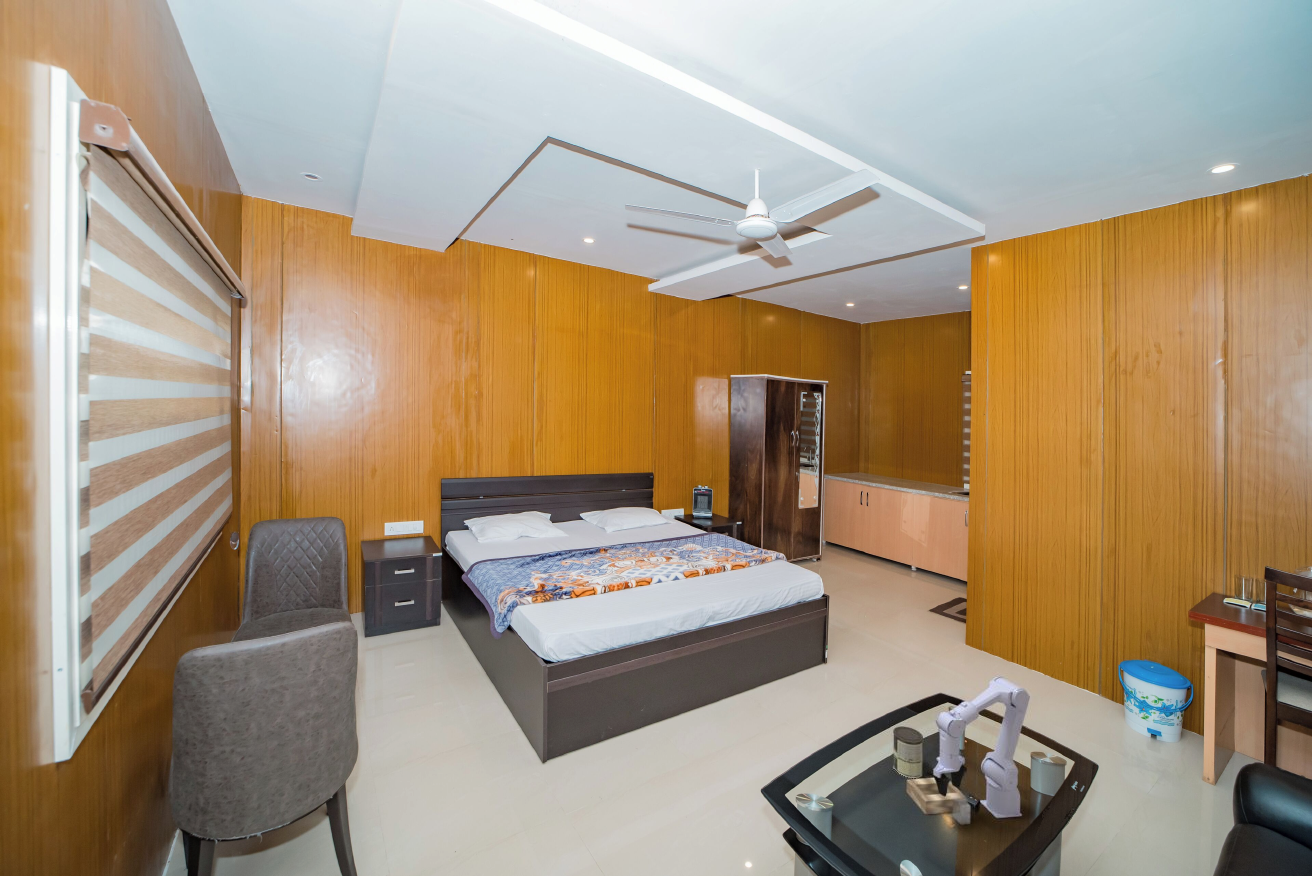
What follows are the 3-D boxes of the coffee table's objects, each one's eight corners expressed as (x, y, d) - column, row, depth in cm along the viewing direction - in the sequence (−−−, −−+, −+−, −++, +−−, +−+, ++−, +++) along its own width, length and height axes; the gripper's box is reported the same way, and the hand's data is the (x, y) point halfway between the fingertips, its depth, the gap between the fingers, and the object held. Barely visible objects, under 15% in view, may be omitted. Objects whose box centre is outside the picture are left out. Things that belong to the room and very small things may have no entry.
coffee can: (886, 764, 205) (887, 728, 205) (908, 759, 209) (908, 724, 208) (907, 781, 196) (907, 744, 195) (929, 775, 199) (929, 738, 199)
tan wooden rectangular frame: (945, 789, 192) (945, 776, 191) (966, 810, 181) (966, 798, 180) (906, 792, 190) (906, 779, 190) (925, 814, 179) (925, 801, 179)
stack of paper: (961, 814, 179) (962, 795, 179) (970, 823, 175) (970, 803, 175) (952, 815, 178) (952, 795, 178) (960, 824, 174) (960, 804, 174)
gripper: (950, 738, 184) (950, 776, 184) (924, 751, 177) (924, 790, 177) (970, 748, 178) (970, 788, 178) (945, 762, 170) (945, 803, 171)
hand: (949, 790), depth 177 cm, fingers open, 7 cm apart
